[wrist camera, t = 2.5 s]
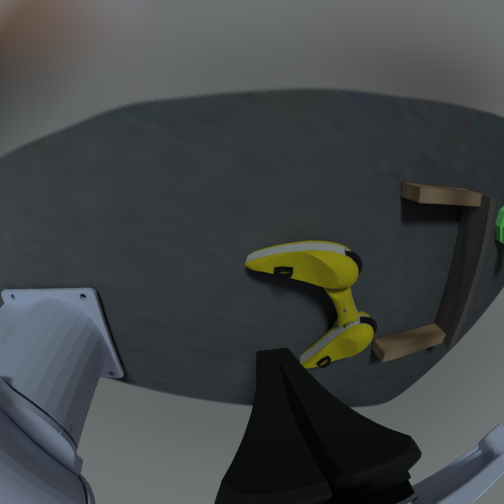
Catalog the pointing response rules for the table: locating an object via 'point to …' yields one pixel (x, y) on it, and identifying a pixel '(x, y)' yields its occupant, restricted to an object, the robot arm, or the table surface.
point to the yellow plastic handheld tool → (335, 284)
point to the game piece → (500, 226)
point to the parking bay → (461, 274)
